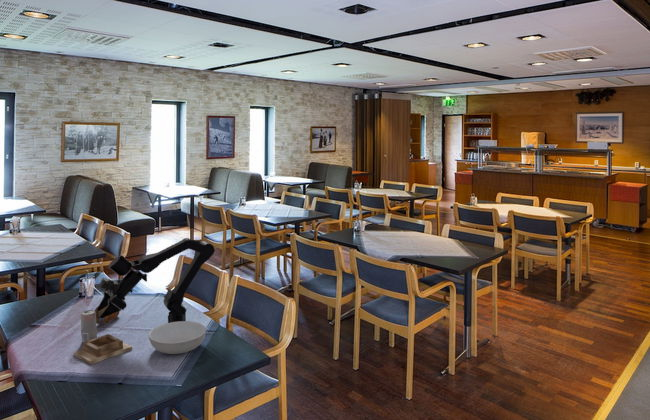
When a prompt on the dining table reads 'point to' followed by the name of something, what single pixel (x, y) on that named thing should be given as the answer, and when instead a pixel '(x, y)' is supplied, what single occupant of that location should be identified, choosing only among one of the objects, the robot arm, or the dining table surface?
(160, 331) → the serving bowl
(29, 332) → the dining table surface
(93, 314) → the energy drink
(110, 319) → the tin
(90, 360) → the wooden tray
